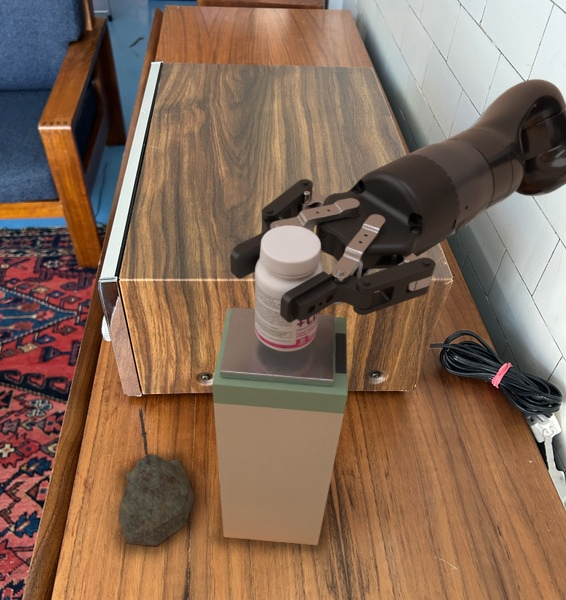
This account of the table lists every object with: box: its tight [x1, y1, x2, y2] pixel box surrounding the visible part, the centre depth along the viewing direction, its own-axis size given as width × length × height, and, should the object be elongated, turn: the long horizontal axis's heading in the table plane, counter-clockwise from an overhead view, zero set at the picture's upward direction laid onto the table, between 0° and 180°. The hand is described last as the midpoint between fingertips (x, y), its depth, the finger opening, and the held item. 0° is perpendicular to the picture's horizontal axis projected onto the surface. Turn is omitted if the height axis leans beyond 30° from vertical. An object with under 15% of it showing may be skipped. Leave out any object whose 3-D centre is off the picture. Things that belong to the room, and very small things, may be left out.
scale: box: [211, 306, 349, 415], centre depth 45 cm, size 10×8×3 cm
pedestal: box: [213, 402, 345, 546], centre depth 54 cm, size 10×8×24 cm
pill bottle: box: [254, 226, 324, 351], centre depth 40 cm, size 5×5×8 cm
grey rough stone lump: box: [118, 408, 195, 547], centre depth 58 cm, size 10×8×12 cm
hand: (259, 287), depth 37 cm, fingers closed on pill bottle, 4 cm apart
